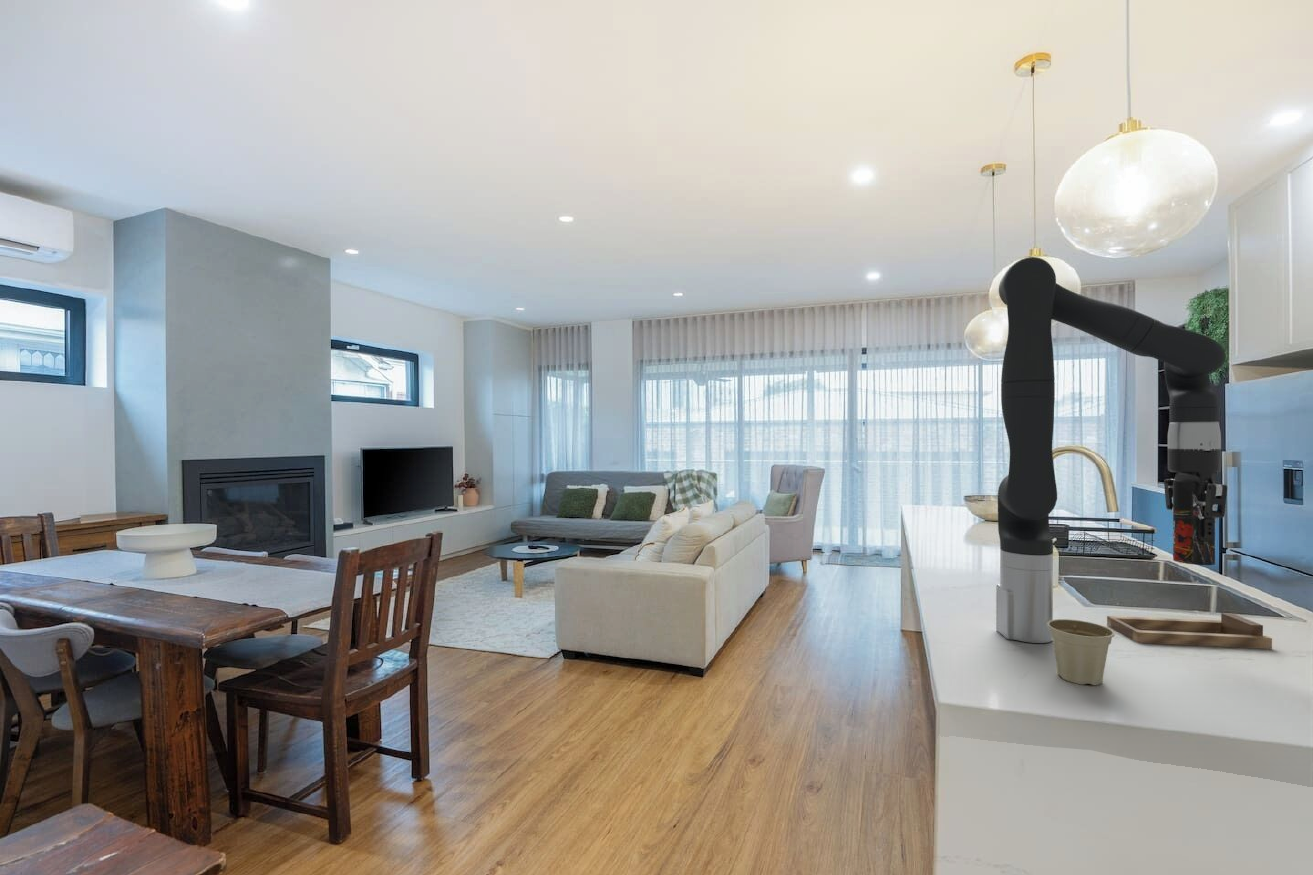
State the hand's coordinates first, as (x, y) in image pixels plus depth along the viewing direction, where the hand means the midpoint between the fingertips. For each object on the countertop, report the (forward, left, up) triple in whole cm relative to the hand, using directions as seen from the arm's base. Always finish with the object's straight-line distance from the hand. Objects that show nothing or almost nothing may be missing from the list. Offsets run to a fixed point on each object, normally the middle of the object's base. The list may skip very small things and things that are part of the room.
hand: (1193, 536), depth 117 cm
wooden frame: (+5, +11, -22) cm, 25 cm away
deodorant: (0, 0, -5) cm, 5 cm away
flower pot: (-27, -16, -22) cm, 38 cm away
